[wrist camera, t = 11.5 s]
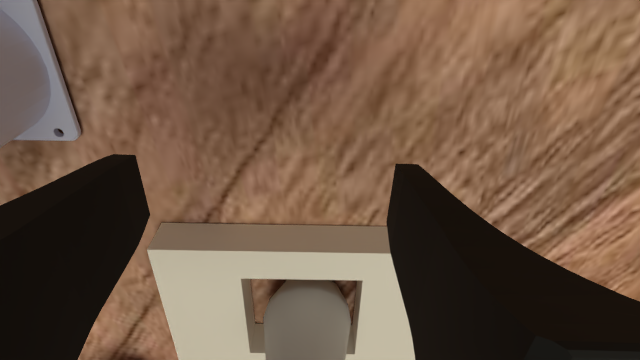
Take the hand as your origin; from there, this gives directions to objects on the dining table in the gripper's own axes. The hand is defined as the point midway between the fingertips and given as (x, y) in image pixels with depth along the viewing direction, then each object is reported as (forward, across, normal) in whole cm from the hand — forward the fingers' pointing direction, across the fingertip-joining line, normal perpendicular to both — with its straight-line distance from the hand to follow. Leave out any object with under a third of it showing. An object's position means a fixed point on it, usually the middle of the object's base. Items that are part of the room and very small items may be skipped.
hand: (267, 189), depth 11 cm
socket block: (+10, -1, +16) cm, 19 cm away
